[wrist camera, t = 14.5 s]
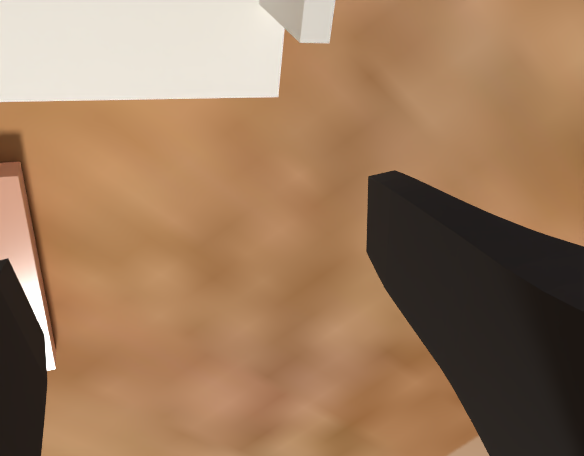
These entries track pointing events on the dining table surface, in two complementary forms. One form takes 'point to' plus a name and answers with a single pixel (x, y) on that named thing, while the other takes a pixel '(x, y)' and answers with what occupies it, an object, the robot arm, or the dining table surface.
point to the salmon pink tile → (23, 248)
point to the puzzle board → (150, 47)
